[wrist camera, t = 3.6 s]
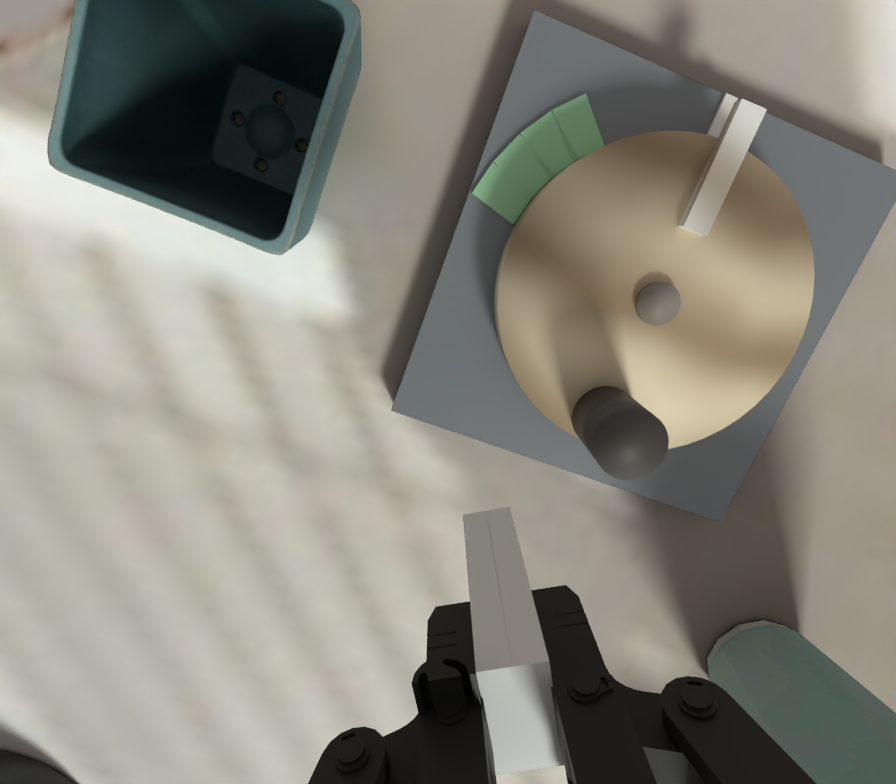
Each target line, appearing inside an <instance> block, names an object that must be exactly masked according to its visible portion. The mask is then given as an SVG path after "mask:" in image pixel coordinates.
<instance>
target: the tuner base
mask: <svg viewBox="0 0 896 784" xmlns="http://www.w3.org/2000/svg"><path fill="white" fill-rule="evenodd" d="M737 99H738V98H737V97H734V96H732V95H730V94H728V93H726V94H723V93H721V92H718V91H716V90H714V89H712V88H709V87H707V86H705V85H702V84H700V83H698V82H696V81H693V80H691V79H689V78H687V77H684V76H682V75H680V74H678V73H675V72H673V71H671V70H669V69H666V68H664V67H662V66H660V65H657V64H655V63H653V62H650V61H648V60H646V59H644V58H641V57H639V56H637V55H635V54H632V53H630V52H628V51H626V50H623V49H621V48H619V47H617V46H614V45H612V44H610V43H608V42H605V41H603V40H601V39H599V38H596V37H594V36H592V35H589V34H587V33H585V32H583V31H580V30H578V29H576V28H574V27H571V26H569V25H567V24H565V23H562V22H560V21H558V20H556V19H553V18H551V17H549V16H547V15H544V14H542V13H540V12H537V11H535V10H534V12H533V14H532V17H531V19H530V21H529V23H528V26H527V29H526V32H525V35H524V38H523V40H522V43H521V46H520V49H519V52H518V54H517V57H516V60H515V63H514V66H513V68H512V71H511V74H510V77H509V80H508V82H507V85H506V88H505V91H504V94H503V96H502V99H501V102H500V105H499V108H498V110H497V113H496V116H495V119H494V122H493V124H492V127H491V130H490V133H489V136H488V138H487V141H486V144H485V147H484V150H483V152H482V155H481V158H480V161H479V164H478V166H477V169H476V172H475V175H474V178H473V180H472V183H471V186H470V189H469V192H468V194H467V197H466V200H465V203H464V206H463V209H462V211H461V214H460V217H459V220H458V223H457V225H456V228H455V231H454V234H453V237H452V239H451V242H450V245H449V248H448V251H447V253H446V256H445V259H444V262H443V265H442V267H441V270H440V273H439V276H438V279H437V281H436V284H435V287H434V290H433V293H432V295H431V298H430V301H429V304H428V307H427V309H426V312H425V315H424V318H423V321H422V323H421V326H420V329H419V332H418V335H417V337H416V340H415V343H414V346H413V349H412V351H411V354H410V357H409V360H408V363H407V365H406V368H405V371H404V374H403V377H402V380H401V382H400V385H399V388H398V391H397V394H396V396H395V399H394V402H393V406H392V410H391V411H394V412H397V413H400V414H403V415H406V416H409V417H412V418H414V419H417V420H420V421H423V422H426V423H429V424H432V425H435V426H438V427H441V428H444V429H447V430H450V431H453V432H456V433H459V434H461V435H464V436H467V437H470V438H473V439H476V440H479V441H482V442H485V443H488V444H491V445H494V446H497V447H500V448H503V449H506V450H508V451H511V452H514V453H517V454H520V455H523V456H526V457H529V458H532V459H535V460H538V461H541V462H544V463H547V464H550V465H553V466H555V467H558V468H561V469H564V470H567V471H570V472H573V473H576V474H579V475H582V476H585V477H588V478H591V479H594V480H597V481H600V482H602V483H605V484H608V485H611V486H614V487H617V488H620V489H623V490H626V491H629V492H632V493H635V494H638V495H641V496H644V497H647V498H649V499H652V500H655V501H658V502H661V503H664V504H667V505H670V506H673V507H676V508H679V509H682V510H685V511H688V512H691V513H694V514H696V515H699V516H702V517H705V518H708V519H711V520H714V521H717V522H720V521H721V520H722V518H723V516H724V514H725V512H726V510H727V509H728V507H729V505H730V503H731V501H732V499H733V498H734V496H735V494H736V492H737V490H738V488H739V487H740V485H741V483H742V481H743V479H744V477H745V476H746V474H747V472H748V470H749V468H750V467H751V465H752V463H753V461H754V459H755V457H756V456H757V454H758V452H759V450H760V448H761V446H762V445H763V443H764V441H765V439H766V437H767V435H768V434H769V432H770V430H771V428H772V426H773V424H774V423H775V421H776V419H777V417H778V415H779V413H780V412H781V410H782V408H783V406H784V404H785V402H786V401H787V399H788V397H789V395H790V393H791V391H792V390H793V388H794V386H795V384H796V382H797V380H798V379H799V377H800V375H801V373H802V371H803V370H804V368H805V366H806V364H807V362H808V360H809V359H810V357H811V355H812V353H813V351H814V349H815V348H816V346H817V344H818V342H819V340H820V338H821V337H822V335H823V333H824V331H825V329H826V327H827V326H828V324H829V322H830V320H831V318H832V316H833V315H834V313H835V311H836V309H837V307H838V305H839V304H840V302H841V300H842V298H843V296H844V294H845V293H846V291H847V289H848V287H849V285H850V283H851V282H852V280H853V278H854V276H855V274H856V273H857V271H858V269H859V267H860V265H861V263H862V262H863V260H864V258H865V256H866V254H867V252H868V251H869V249H870V247H871V245H872V243H873V241H874V240H875V238H876V236H877V234H878V232H879V230H880V229H881V227H882V225H883V223H884V221H885V219H886V218H887V216H888V214H889V212H890V210H891V208H892V207H893V205H894V203H895V201H896V170H895V169H892V168H890V167H888V166H886V165H883V164H881V163H879V162H877V161H874V160H872V159H870V158H867V157H865V156H863V155H861V154H858V153H856V152H854V151H852V150H849V149H847V148H845V147H843V146H840V145H838V144H836V143H834V142H831V141H829V140H827V139H825V138H822V137H820V136H818V135H816V134H813V133H811V132H809V131H806V130H804V129H802V128H800V127H797V126H795V125H793V124H791V123H788V122H786V121H784V120H782V119H779V118H777V117H775V116H773V115H770V114H768V113H765V115H764V117H763V119H762V121H761V123H760V125H759V127H758V130H757V132H756V134H755V136H754V138H753V140H752V142H751V144H750V147H749V149H748V152H750V153H751V154H753V155H754V156H755V157H757V158H758V159H759V160H761V161H762V162H763V163H765V164H766V165H767V166H768V167H769V168H770V169H771V170H772V171H773V172H774V173H775V174H776V175H777V176H778V177H779V178H780V179H781V180H782V182H783V183H784V184H785V186H786V187H787V189H788V190H789V191H790V193H791V194H792V196H793V197H794V199H795V201H796V203H797V205H798V207H799V209H800V211H801V213H802V214H803V217H804V220H805V223H806V226H807V229H808V232H809V235H810V240H811V245H812V250H813V256H814V273H815V278H814V292H813V300H812V305H811V310H810V315H809V319H808V322H807V325H806V328H805V331H804V334H803V337H802V339H801V341H800V344H799V346H798V348H797V350H796V352H795V354H794V356H793V358H792V360H791V361H790V363H789V365H788V366H787V368H786V370H785V371H784V373H783V374H782V376H781V377H780V378H779V379H778V381H777V382H776V383H775V385H774V386H773V387H772V388H771V390H770V391H769V392H768V393H767V394H766V395H765V396H764V397H763V398H762V399H761V400H760V401H759V402H758V403H757V404H756V405H755V406H754V407H753V408H752V409H750V410H749V411H748V412H747V413H745V414H744V415H743V416H742V417H740V418H739V419H738V420H736V421H735V422H733V423H731V424H730V425H728V426H727V427H725V428H724V429H722V430H720V431H718V432H716V433H714V434H712V435H710V436H708V437H706V438H704V439H701V440H698V441H695V442H693V443H690V444H687V445H684V446H679V447H675V448H671V449H668V451H667V454H666V456H665V458H664V460H663V462H662V463H661V464H660V466H659V467H658V468H657V469H656V470H654V471H653V472H652V473H650V474H649V475H647V476H645V477H642V478H639V479H635V480H621V479H617V478H614V477H612V476H610V475H609V474H607V473H606V472H605V471H604V470H603V469H602V468H601V467H600V466H599V464H598V463H597V462H596V460H595V459H594V457H593V456H592V455H591V453H590V452H589V451H588V449H587V448H586V447H585V445H584V444H583V443H582V441H581V440H580V439H579V438H577V437H575V436H573V435H571V434H570V433H568V432H566V431H565V430H563V429H561V428H560V427H558V426H557V425H556V424H554V423H553V422H552V421H550V420H549V419H548V418H547V417H545V416H544V415H543V414H542V413H541V412H540V411H539V410H538V409H537V407H536V406H535V405H534V404H533V403H532V402H531V401H530V400H529V398H528V397H527V395H526V394H525V393H524V391H523V390H522V388H521V387H520V386H519V384H518V382H517V381H516V379H515V377H514V375H513V374H512V372H511V370H510V368H509V366H508V364H507V362H506V360H505V357H504V355H503V352H502V349H501V346H500V344H499V340H498V335H497V330H496V326H495V316H494V288H495V281H496V275H497V269H498V265H499V261H500V258H501V255H502V252H503V249H504V246H505V243H506V241H507V239H508V237H509V235H510V232H511V230H512V228H513V226H514V225H515V223H516V221H517V220H518V218H519V217H520V215H521V213H522V212H523V210H524V209H525V207H526V206H527V205H528V204H529V202H530V201H531V200H532V199H533V197H534V196H535V195H536V194H537V192H538V191H540V190H541V189H542V188H543V187H544V186H545V185H546V184H547V183H548V182H549V181H550V180H551V179H552V178H553V177H554V176H556V175H557V174H558V173H560V172H561V171H562V170H564V169H565V168H566V167H568V166H569V165H570V164H572V163H574V162H576V161H578V160H579V159H581V158H583V157H585V156H586V155H588V154H590V153H592V152H594V151H595V150H597V149H599V148H601V147H603V146H605V145H608V144H610V143H613V142H615V141H618V140H620V139H623V138H627V137H631V136H635V135H639V134H643V133H650V132H659V131H689V132H695V133H700V134H706V135H711V136H714V137H717V138H718V137H719V135H720V133H721V131H722V129H723V126H724V124H725V122H726V120H727V118H728V116H729V113H730V111H731V109H732V107H733V105H734V102H735V101H738V100H737Z"/></svg>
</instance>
